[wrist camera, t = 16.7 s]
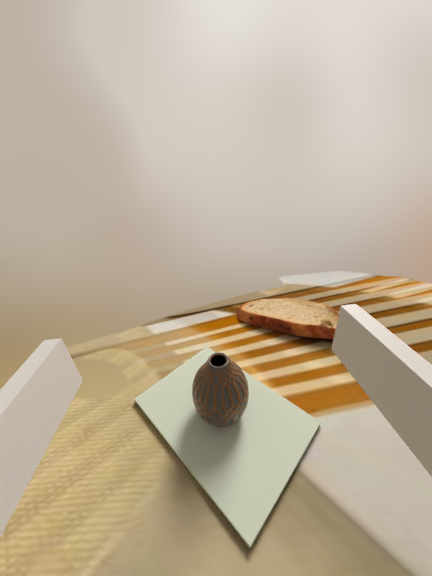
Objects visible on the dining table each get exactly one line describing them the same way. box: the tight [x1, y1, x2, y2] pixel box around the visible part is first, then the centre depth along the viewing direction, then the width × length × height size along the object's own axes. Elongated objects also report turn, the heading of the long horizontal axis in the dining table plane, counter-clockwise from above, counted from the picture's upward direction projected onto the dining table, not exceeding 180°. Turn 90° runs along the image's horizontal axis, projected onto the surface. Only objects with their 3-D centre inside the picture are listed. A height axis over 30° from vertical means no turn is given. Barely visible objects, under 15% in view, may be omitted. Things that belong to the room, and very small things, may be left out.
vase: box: [192, 353, 249, 427], centre depth 27 cm, size 7×7×9 cm
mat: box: [135, 347, 321, 548], centre depth 29 cm, size 20×14×1 cm
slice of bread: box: [237, 298, 339, 340], centre depth 45 cm, size 18×18×4 cm
